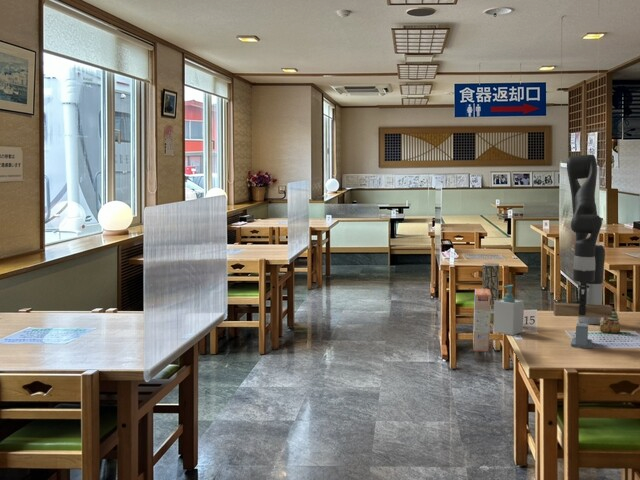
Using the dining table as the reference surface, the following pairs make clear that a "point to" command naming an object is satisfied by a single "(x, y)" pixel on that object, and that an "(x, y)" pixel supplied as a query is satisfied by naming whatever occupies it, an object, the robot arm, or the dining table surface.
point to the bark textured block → (491, 283)
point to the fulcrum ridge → (581, 336)
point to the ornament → (610, 323)
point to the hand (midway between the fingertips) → (582, 313)
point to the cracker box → (481, 320)
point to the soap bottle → (508, 314)
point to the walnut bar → (591, 310)
